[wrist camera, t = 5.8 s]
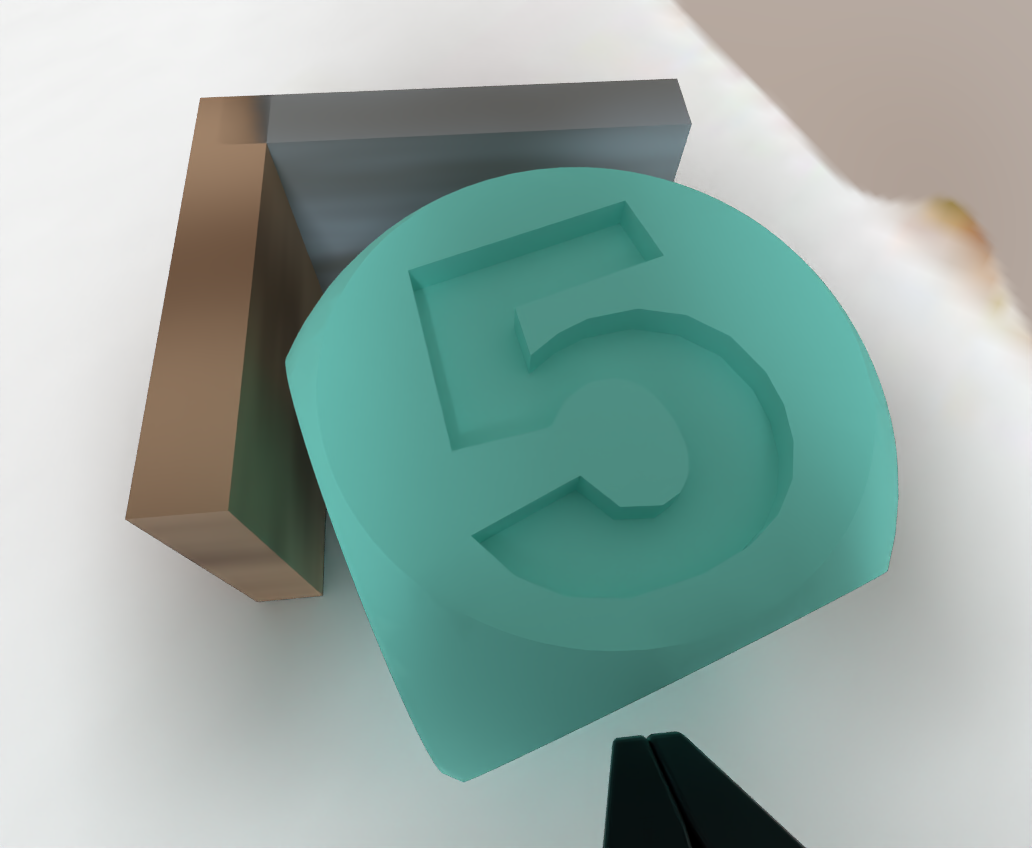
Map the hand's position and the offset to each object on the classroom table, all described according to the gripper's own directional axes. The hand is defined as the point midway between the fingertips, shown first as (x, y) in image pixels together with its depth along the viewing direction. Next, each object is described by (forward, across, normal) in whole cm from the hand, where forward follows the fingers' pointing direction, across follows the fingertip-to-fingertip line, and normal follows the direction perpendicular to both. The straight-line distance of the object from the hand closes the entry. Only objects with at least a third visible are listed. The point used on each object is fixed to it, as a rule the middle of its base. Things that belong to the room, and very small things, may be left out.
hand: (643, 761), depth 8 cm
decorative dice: (+8, 0, +1) cm, 8 cm away
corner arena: (+11, +2, -2) cm, 11 cm away
